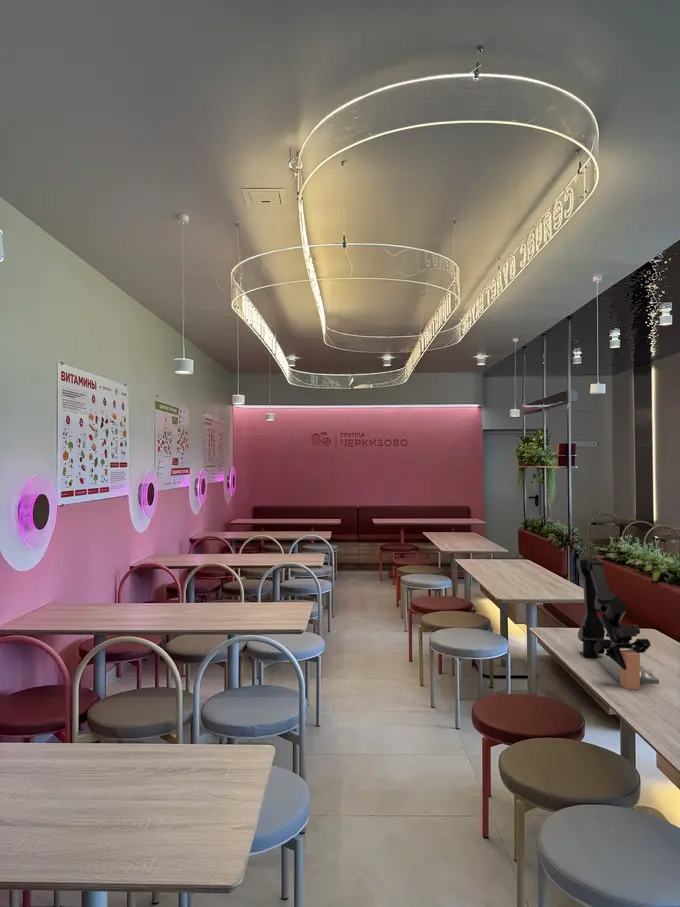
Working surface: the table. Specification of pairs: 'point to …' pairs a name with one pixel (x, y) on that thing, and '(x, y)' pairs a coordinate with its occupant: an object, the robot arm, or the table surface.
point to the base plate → (615, 671)
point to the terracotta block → (630, 670)
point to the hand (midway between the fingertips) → (632, 669)
